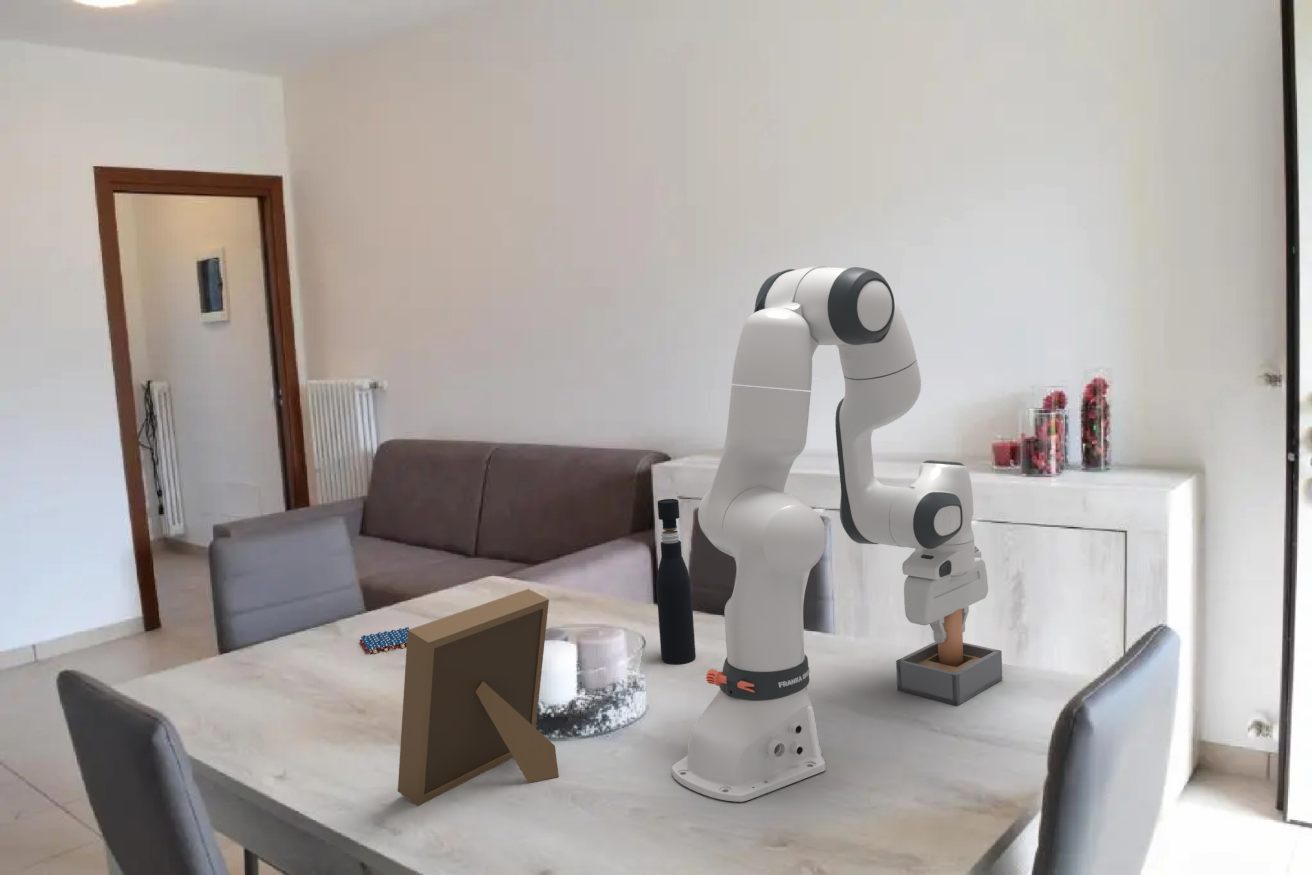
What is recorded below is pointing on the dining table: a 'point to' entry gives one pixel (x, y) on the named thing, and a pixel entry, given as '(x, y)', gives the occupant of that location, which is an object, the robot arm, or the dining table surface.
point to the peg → (952, 641)
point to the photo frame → (474, 697)
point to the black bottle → (674, 592)
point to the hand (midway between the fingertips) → (949, 637)
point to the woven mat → (384, 641)
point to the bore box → (949, 673)
